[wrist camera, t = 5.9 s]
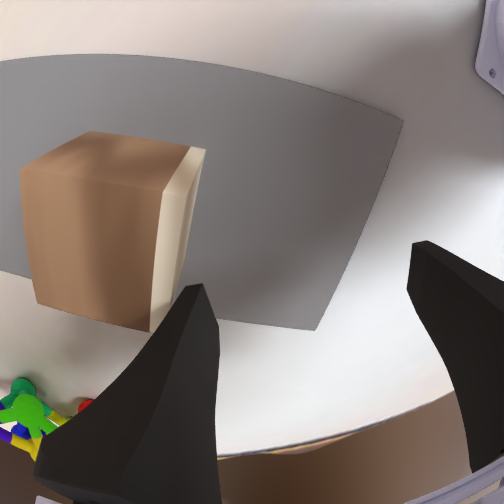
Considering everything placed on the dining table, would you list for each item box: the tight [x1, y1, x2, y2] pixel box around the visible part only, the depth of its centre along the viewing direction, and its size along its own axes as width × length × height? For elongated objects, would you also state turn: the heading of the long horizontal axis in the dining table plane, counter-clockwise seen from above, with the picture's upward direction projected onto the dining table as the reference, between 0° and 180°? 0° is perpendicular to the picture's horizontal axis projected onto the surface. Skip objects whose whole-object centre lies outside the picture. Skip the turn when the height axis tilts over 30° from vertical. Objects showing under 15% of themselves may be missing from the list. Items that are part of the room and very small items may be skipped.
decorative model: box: [0, 378, 94, 461], centre depth 19 cm, size 13×9×15 cm
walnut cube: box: [20, 131, 206, 333], centre depth 10 cm, size 5×5×5 cm
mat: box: [0, 54, 404, 331], centre depth 13 cm, size 20×12×1 cm, turn 77°
